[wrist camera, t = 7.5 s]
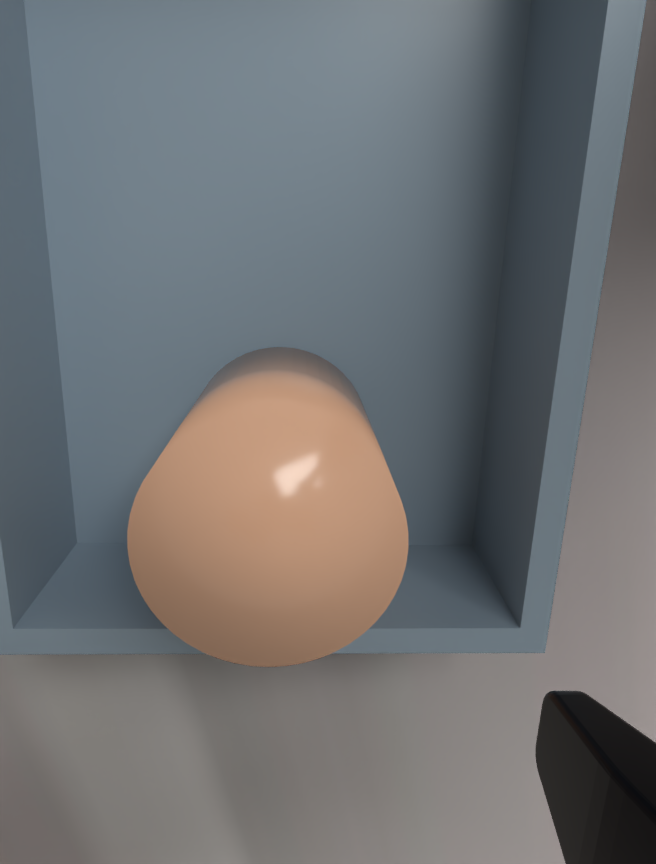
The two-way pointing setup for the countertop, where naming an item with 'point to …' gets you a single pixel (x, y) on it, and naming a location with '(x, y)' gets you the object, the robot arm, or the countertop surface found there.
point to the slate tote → (304, 277)
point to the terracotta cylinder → (270, 516)
